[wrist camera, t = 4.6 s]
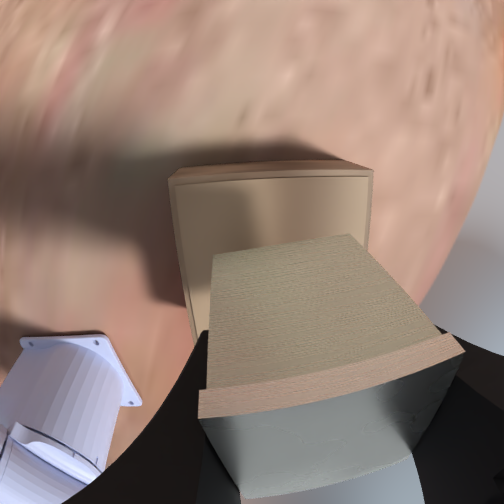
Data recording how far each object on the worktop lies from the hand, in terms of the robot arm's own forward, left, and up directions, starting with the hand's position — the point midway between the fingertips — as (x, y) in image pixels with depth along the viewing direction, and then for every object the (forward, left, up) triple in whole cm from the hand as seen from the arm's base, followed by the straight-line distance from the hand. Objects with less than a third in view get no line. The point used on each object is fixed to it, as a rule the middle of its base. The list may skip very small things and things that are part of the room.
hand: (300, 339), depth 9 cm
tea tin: (0, 0, -2) cm, 2 cm away
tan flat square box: (0, 0, -9) cm, 9 cm away
